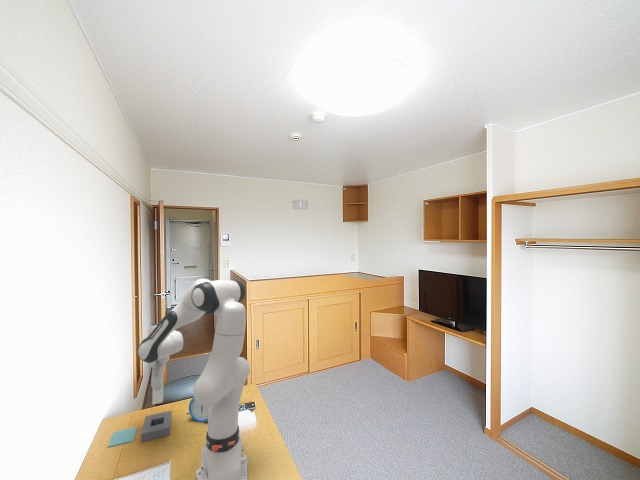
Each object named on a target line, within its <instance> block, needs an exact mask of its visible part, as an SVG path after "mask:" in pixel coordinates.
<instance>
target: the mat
mask: <svg viewBox="0 0 640 480" xmlns="http://www.w3.org/2000/svg"><path fill="white" fill-rule="evenodd" d="M137 431H138V426H135V427H130V428H126V429H121V430H118V431H117V430H116V431H113V433H112V435H111V438H110V441H109V442H108V445H107V449H109V448H113V447H118V446H122V445H125V444H129V443H133V442H134V441H135V438H136V434H137Z"/></svg>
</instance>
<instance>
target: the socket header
mask: <svg viewBox="0 0 640 480" xmlns="http://www.w3.org/2000/svg"><path fill="white" fill-rule="evenodd" d="M172 415H173V410H167V411H162V412H159V413H154V414H150V415H149V414H148V415H145V417H144V421H143V424H142V425H143V426H142V429H141V434H140V443H145V442H149V441H152V440H156V439H161V438H165V437H170V436H171V428H172V417H173V416H172Z"/></svg>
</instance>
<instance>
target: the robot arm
mask: <svg viewBox="0 0 640 480" xmlns="http://www.w3.org/2000/svg"><path fill="white" fill-rule="evenodd" d="M246 293H247V291H246V286H245V285H244V283H243V282H242V281H241V280H237V279H218V280H217V279H216V280H210V279H208V278H199V279H197V280H195V281H194V282H193V283H192V284H191V286H190V287H189V288H188V289H187V291H185V294H184V295H183V296H182V298H181V300H180V301H179V302H178V303H177V304H176V306H174V307H173V308H172V309H171V310H170V311H169V312H168V313H167V314H165V315H164V317H162V319H161V320H160V321H159V322H157V323H153V324H151V325H150V326H149V328H148V333H147V337H145V338H144V339H142V341H141V342H140V343H139V345H138V348H137V356H138V358H139V359H140V360H141V361H142V362H145V363H147V365H148V366H150V368H151V376H150V377H151V379H150V380H151V381H150V382H151V383H150V384H151V388H153V387H155V391H159V390H160V385H161V381H162V377H164V372H165V368H166V367H165V366H166V364H167V363H168V362H169V361H170V356H171V355H174V354H177V353H178V352H180V351H182V350H183V349H184V346H185V342H186V341H185V340H186V338H185V335H184V334H183V333H182V332H181V331H180V330H177V329H179V328H182V327H184V326H186V325H189V324H191V323H193V322H196V321H198V320H199V319H201V317H203V315H204V314H207V315H212V314H215V316H216V324H215V328H214V329H215V331H214V337H213V343H212V349H211V351H210V355H209V357H208V359H207V362H206V363H205V364H206V365H205V366H204V369H203V370H202V372H201V374H200V375H199V377H198V379H197V380H196V381H195V382H194V384H193V387H192V396H193V397H194V399H195V400H196V402H197V403H198V404H200V405H202V406H209V405H211V404H212V405H211V406H210V409H209V412H208V422H207V431H206V435H205V436H206V437H205V445H204V447H202V449H201V463H200V467H199V468H198V469H197V470H196V472H195V478H196V480H248V456H247V455H246V454H244V453H243V451H244V450H245V446H243V438H242V437H240V427H239V406H240V403H241V402H240V401H241V398H242V393H243V390H244V387H245V383H246V381H247V379H248V377H249V375H250V372H251V367H250V364H249V362H248V360H247V359H246V358H245V357H242V356H240V355H241V353H242V352H243V347H244V343H245V342H244V341H245V340H244V339H245V333H246V323H247V313H246V307H245V305H244V304H243V303H242V302H243V301H244V299H245V296H246Z"/></svg>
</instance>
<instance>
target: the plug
mask: <svg viewBox="0 0 640 480" xmlns="http://www.w3.org/2000/svg"><path fill="white" fill-rule="evenodd" d="M151 400H152V402H151V404H152V405H156V404H157V405H158V404H161V403H163V401H164V376H163V377H162V381H161V385H160V390H159V391H155V387H152V399H151Z"/></svg>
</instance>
